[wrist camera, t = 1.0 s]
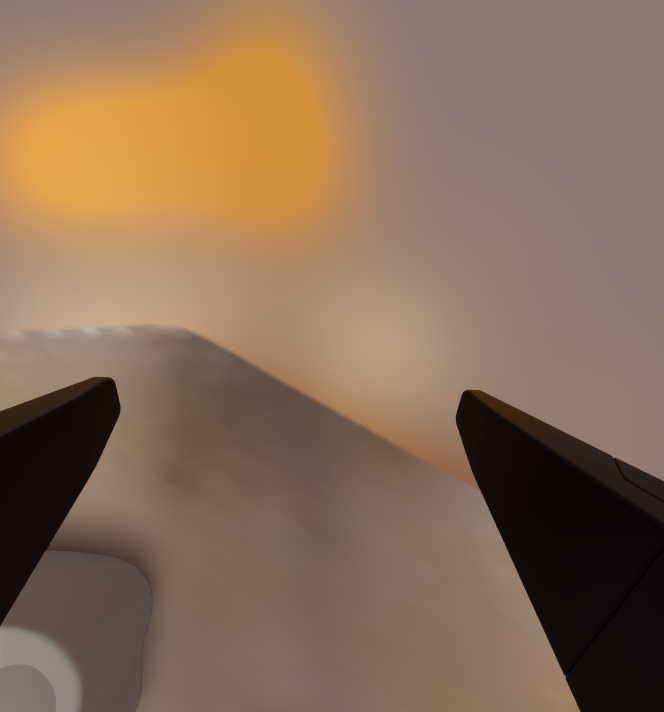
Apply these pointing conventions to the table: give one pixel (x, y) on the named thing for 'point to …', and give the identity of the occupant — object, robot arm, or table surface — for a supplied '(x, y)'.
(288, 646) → the table surface
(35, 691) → the paw print puck
